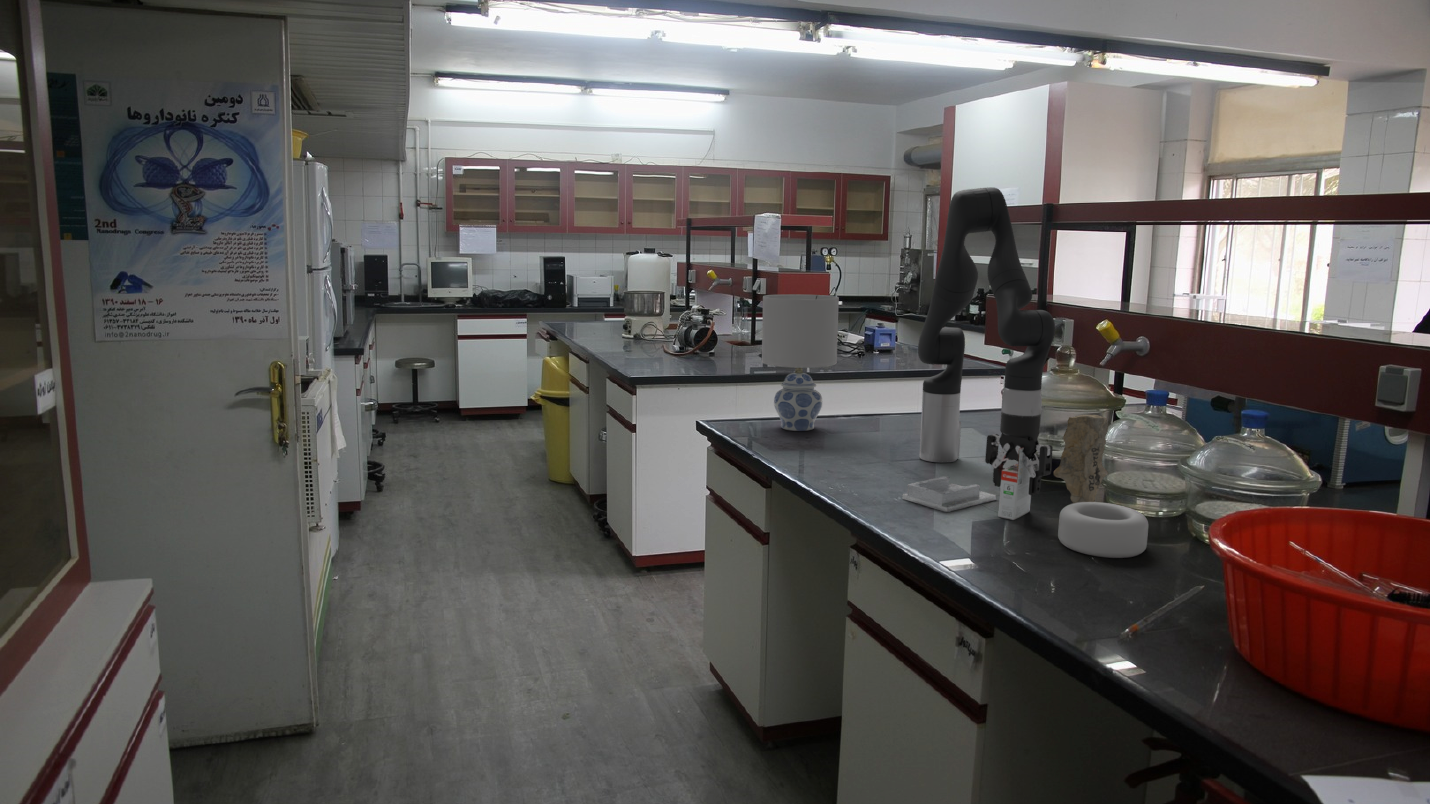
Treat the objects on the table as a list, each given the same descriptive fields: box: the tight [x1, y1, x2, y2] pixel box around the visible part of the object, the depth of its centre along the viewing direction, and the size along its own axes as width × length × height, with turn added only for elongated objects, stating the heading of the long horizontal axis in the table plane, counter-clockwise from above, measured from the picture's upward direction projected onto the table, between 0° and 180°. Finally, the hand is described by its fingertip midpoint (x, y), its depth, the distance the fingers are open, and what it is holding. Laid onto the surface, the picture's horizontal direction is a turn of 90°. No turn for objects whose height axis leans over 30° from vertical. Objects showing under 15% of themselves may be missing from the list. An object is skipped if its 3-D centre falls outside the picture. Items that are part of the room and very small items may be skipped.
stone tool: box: [1053, 414, 1109, 504], centre depth 193 cm, size 12×6×20 cm, turn 96°
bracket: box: [902, 475, 997, 513], centre depth 200 cm, size 16×12×4 cm
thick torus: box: [1057, 501, 1149, 559], centre depth 171 cm, size 15×15×7 cm
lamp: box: [761, 293, 840, 432], centre depth 270 cm, size 22×22×38 cm
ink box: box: [997, 448, 1032, 521], centre depth 189 cm, size 4×8×15 cm, turn 140°
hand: (1015, 490), depth 189 cm, fingers open, 7 cm apart
